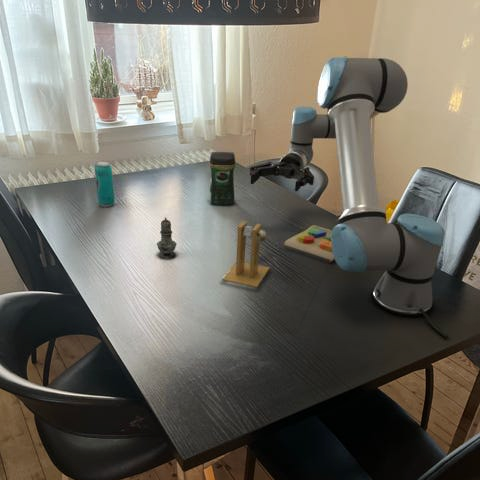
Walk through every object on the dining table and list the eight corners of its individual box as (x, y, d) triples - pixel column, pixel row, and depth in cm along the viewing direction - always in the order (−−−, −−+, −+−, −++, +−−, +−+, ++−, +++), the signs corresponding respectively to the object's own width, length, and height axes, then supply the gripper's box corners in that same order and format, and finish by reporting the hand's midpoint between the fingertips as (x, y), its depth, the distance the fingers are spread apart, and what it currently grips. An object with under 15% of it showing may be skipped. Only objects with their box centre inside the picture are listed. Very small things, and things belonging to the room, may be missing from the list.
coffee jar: (234, 198, 192) (236, 149, 182) (234, 206, 186) (236, 155, 175) (209, 197, 192) (209, 148, 181) (208, 205, 185) (209, 154, 175)
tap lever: (254, 241, 147) (257, 228, 146) (266, 243, 146) (268, 231, 145) (240, 236, 132) (242, 223, 132) (252, 239, 131) (255, 225, 131)
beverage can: (98, 202, 183) (93, 161, 174) (114, 201, 184) (110, 160, 176) (99, 208, 178) (94, 166, 170) (115, 206, 180) (111, 165, 171)
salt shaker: (173, 260, 147) (172, 222, 141) (154, 257, 148) (152, 219, 141) (179, 251, 152) (178, 214, 145) (160, 249, 153) (159, 212, 146)
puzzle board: (357, 243, 163) (359, 233, 161) (332, 264, 150) (333, 254, 148) (309, 229, 171) (311, 220, 169) (282, 248, 158) (283, 238, 156)
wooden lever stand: (237, 265, 147) (239, 214, 138) (269, 272, 144) (274, 220, 135) (222, 283, 137) (223, 230, 128) (256, 291, 135) (260, 237, 126)
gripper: (328, 181, 161) (313, 202, 144) (255, 170, 168) (233, 188, 151) (331, 158, 157) (317, 176, 140) (256, 147, 164) (234, 164, 147)
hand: (273, 183), depth 146 cm, fingers open, 13 cm apart
